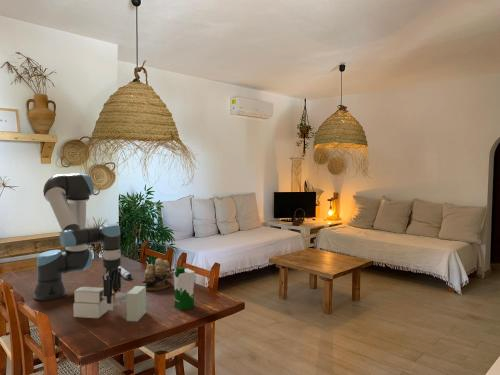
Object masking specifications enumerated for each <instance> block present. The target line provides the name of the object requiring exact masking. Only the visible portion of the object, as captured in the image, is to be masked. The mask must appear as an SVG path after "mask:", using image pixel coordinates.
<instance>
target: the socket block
mask: <svg viewBox="0 0 500 375" xmlns="http://www.w3.org/2000/svg"><path fill="white" fill-rule="evenodd" d="M125 293H126V301H125V302H126V304H125V305H126V322H139V321H140V320H141V319H142V317H143V316H144V315H145V314H146V313H147V292H146V286H145V285H143V286H141V285H135V286H134V287H133V288H132V289H130V290H128V291H127V292H125Z"/></svg>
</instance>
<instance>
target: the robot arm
mask: <svg viewBox="0 0 500 375" xmlns="http://www.w3.org/2000/svg"><path fill="white" fill-rule="evenodd" d="M93 182H94V181H93V180H92V177H91V176H90V175H89V174H87V173H63V174H62V173H61V174H60V173H59V174H54V175H52V176H51V177H50V178H48V180H47V181H46V182H45V184H44V185H43V190H42V191H43V192H42V193H43V196H44V199H45V200H46V201H47V202H48V203H49V204H50V207H51V209H52V211H53V214H54V216H55V219H56V221H57V223H58V225H59V228H60V229H61V231H60V233H59V243H60V245H61V247H63V248H64V251H62V250H61V249H51V250H47V251H44V252H42V253H39V254H38V255H37V257H36V276H37V277H36V280H37V282H36V287H35V289H34V293H33V298H34V299H35V300H38V301H51V300H52V301H53V300H56V299H59V298H62V297H64V296H65V295H67V288H66V285H65V283H64V280H63V275H65V274H69V273H74V272H81V271H85V270H88V269H89V268H90V267H91V266H92V262H93V252H92V249H90V248H89V246H88V245H91V244H98V243H101V244H102V258H103V260H102V261H103V262H102V263H103V264H102V265H103V268H105V274H103V275H102V281H103V285H102V286H103V288H104V296H106V297H107V311H114V307H118V306H119V305H120V301H117V302H115V303H113V296H112V290H119V292H121V290H122V277H121V276H122V275H121V268H118V267H119V266H121V264H122V262H121V253H122V251H121V227H120V225H119V224H117V223H107V224H101V225H95V226H92V227H86V226H87V202H88V201H89V200H90V196H92V195H93V194H94V193H95V192H94V191H95V187H94V183H93Z"/></svg>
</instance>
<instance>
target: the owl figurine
mask: <svg viewBox="0 0 500 375" xmlns="http://www.w3.org/2000/svg"><path fill="white" fill-rule="evenodd" d="M154 262H155V265H154V264H152V263H149V264H147V266H146V269H145V270H144V276H143V277H144V279H143V280H142V281H141V283H142V284H145V285H144V286H146V293H154V292H162V291H166V290H168V288H169V289H170V288H172V287H173V283H172V282H171V281H169V279H171V278H172V276H174V272H173V271H171V268H170V262H169V261H168V260H166V259H165V260H163V259H162V258H156V259H155V261H154Z"/></svg>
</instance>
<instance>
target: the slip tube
mask: <svg viewBox="0 0 500 375" xmlns="http://www.w3.org/2000/svg"><path fill="white" fill-rule="evenodd" d="M126 293H127V292H120V291H119V290H112V296H113V303H115V302H117V301H119V302H126ZM100 300H106V303H107V297H106V296H104V292H100Z"/></svg>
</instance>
